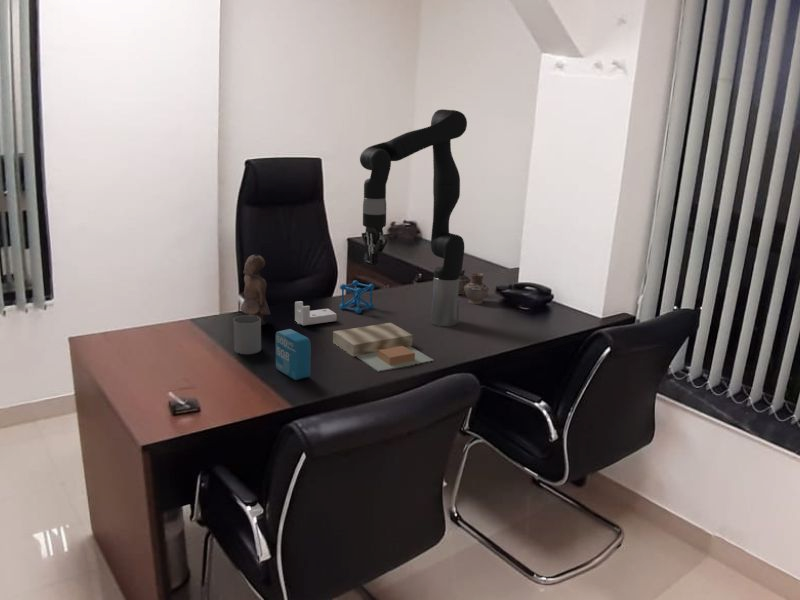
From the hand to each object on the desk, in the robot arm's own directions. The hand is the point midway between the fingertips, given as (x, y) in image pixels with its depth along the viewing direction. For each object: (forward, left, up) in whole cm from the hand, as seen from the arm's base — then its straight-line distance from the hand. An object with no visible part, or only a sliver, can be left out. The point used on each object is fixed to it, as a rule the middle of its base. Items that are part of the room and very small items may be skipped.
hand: (373, 263), depth 225 cm
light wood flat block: (+3, +6, -26) cm, 27 cm away
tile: (+3, +22, -24) cm, 33 cm away
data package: (+36, +18, -26) cm, 48 cm away
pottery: (-60, -26, -26) cm, 70 cm away
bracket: (+10, -23, -26) cm, 36 cm away
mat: (+3, +21, -26) cm, 33 cm away
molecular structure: (-11, -31, -26) cm, 41 cm away
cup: (+41, -7, -26) cm, 49 cm away
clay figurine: (+30, -28, -26) cm, 49 cm away
